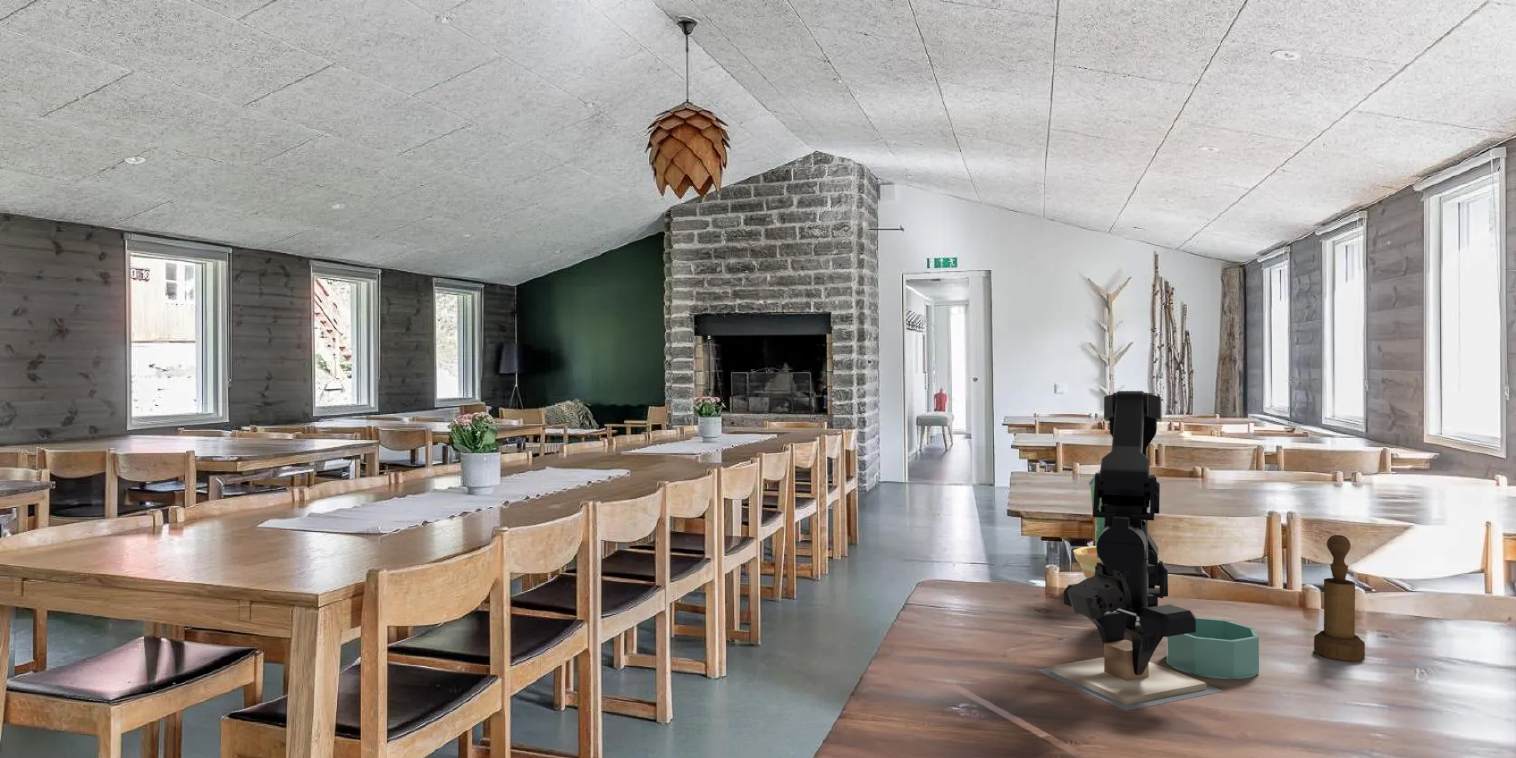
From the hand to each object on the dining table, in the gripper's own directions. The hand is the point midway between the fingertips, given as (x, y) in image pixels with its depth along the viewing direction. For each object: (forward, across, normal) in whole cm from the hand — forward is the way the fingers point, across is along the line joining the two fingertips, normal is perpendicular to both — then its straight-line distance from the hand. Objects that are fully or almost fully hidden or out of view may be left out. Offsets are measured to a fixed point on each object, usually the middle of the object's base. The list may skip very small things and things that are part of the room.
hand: (1126, 669), depth 124 cm
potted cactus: (+2, -39, +36) cm, 53 cm away
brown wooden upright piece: (+2, +3, +39) cm, 39 cm away
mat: (+2, 0, 0) cm, 2 cm away
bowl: (+2, 0, +16) cm, 16 cm away
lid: (+1, 0, 0) cm, 1 cm away
